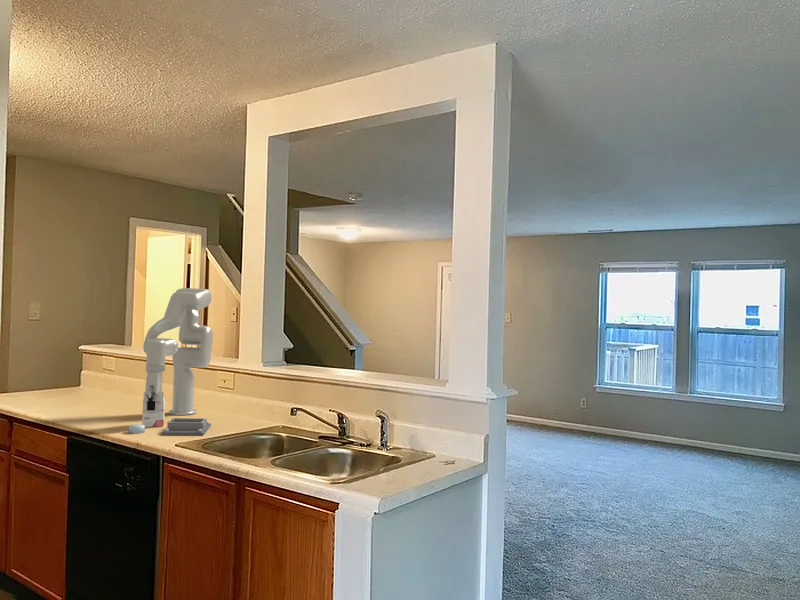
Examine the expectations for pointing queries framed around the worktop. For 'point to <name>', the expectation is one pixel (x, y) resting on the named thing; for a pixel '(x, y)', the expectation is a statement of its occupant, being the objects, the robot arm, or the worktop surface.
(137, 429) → the pale blue dome
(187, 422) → the chassis plate
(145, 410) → the ink cartridge box
